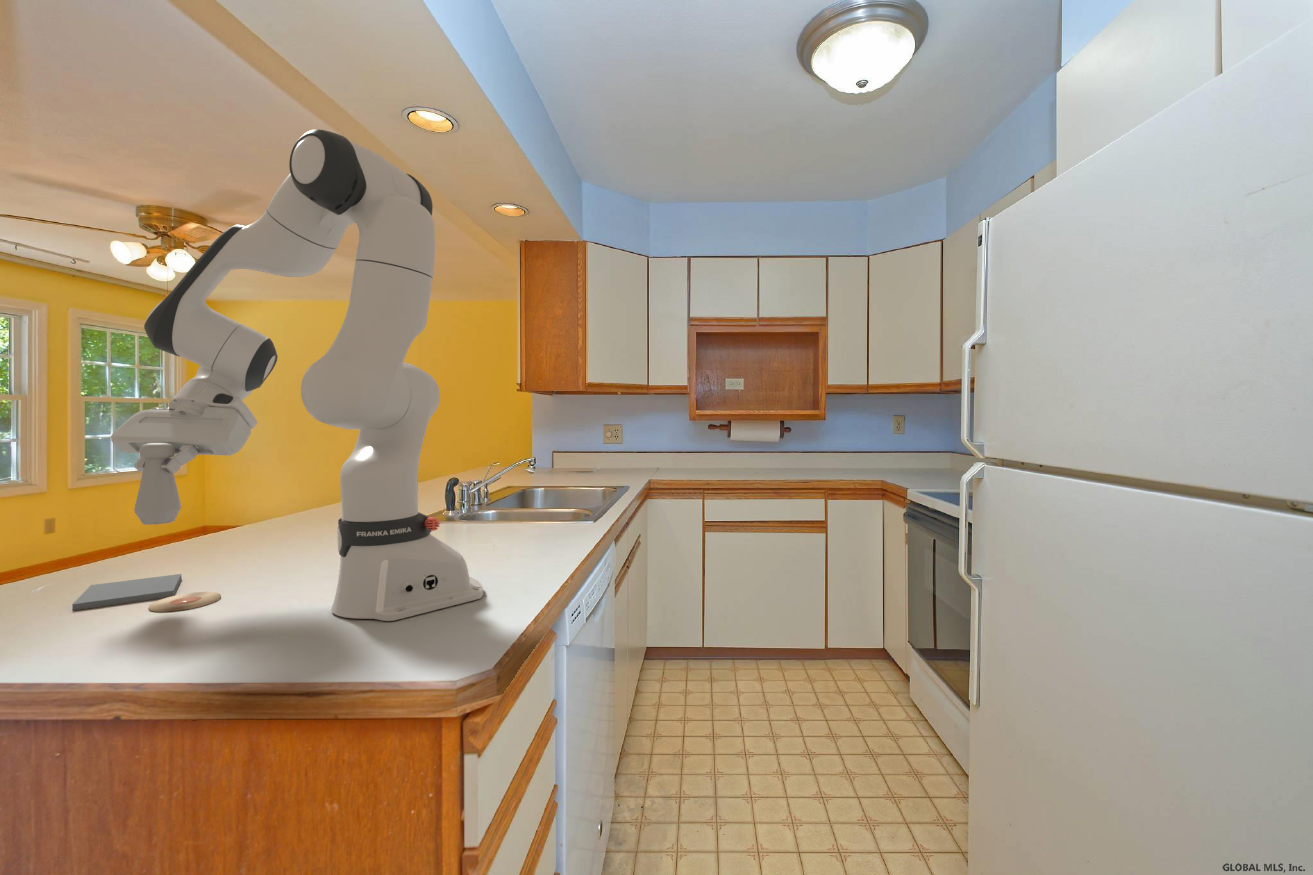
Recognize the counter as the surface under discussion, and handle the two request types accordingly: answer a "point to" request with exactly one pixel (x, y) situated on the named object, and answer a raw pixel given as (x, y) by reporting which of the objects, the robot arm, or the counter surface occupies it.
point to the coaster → (184, 601)
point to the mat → (128, 591)
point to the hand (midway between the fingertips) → (154, 470)
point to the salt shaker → (157, 487)
